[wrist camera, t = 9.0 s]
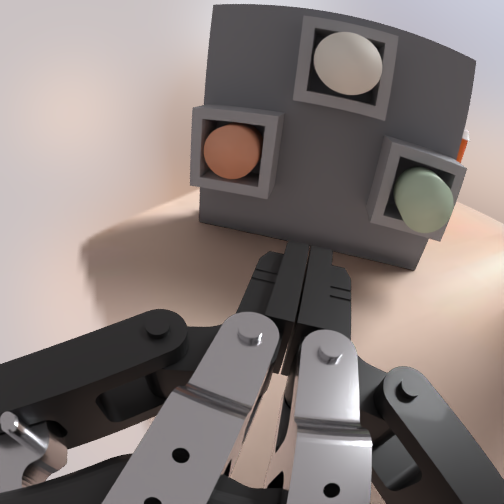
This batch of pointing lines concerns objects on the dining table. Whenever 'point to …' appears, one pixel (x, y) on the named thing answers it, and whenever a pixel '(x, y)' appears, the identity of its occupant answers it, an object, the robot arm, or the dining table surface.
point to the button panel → (328, 131)
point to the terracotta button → (233, 150)
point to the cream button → (348, 63)
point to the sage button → (423, 199)
